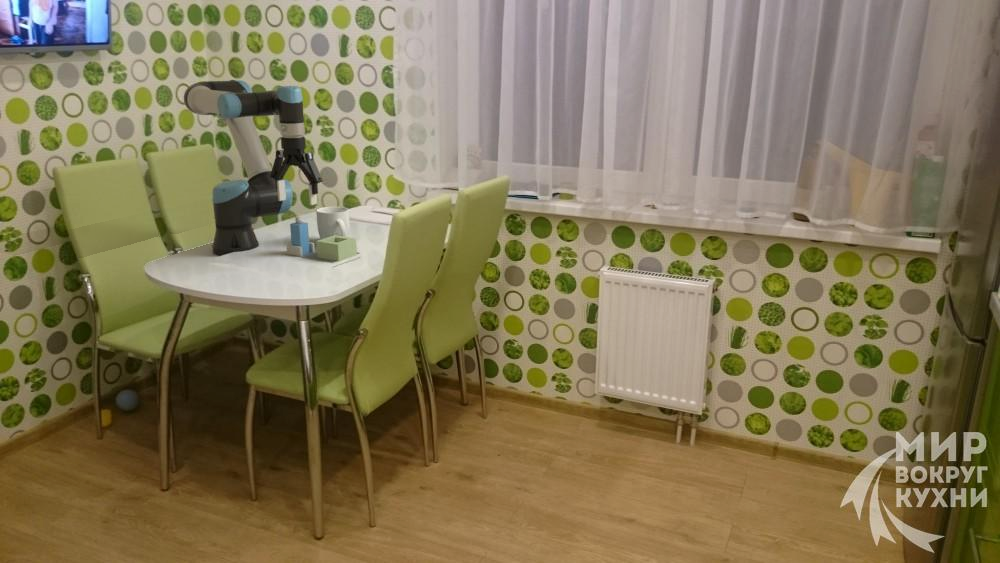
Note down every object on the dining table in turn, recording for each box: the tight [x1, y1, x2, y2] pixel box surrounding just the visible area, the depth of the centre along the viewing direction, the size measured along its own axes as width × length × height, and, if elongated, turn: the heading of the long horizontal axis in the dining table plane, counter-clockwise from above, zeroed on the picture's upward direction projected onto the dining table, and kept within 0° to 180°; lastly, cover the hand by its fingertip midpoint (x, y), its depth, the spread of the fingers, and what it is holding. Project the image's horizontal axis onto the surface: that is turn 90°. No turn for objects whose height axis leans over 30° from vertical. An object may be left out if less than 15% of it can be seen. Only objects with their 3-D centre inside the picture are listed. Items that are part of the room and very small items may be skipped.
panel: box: [285, 241, 361, 268], centre depth 266 cm, size 20×14×4 cm
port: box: [316, 235, 358, 262], centre depth 263 cm, size 9×9×6 cm
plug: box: [289, 216, 310, 254], centre depth 266 cm, size 4×4×12 cm
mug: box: [316, 206, 351, 240], centre depth 278 cm, size 15×11×13 cm
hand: (297, 202), depth 262 cm, fingers open, 13 cm apart
